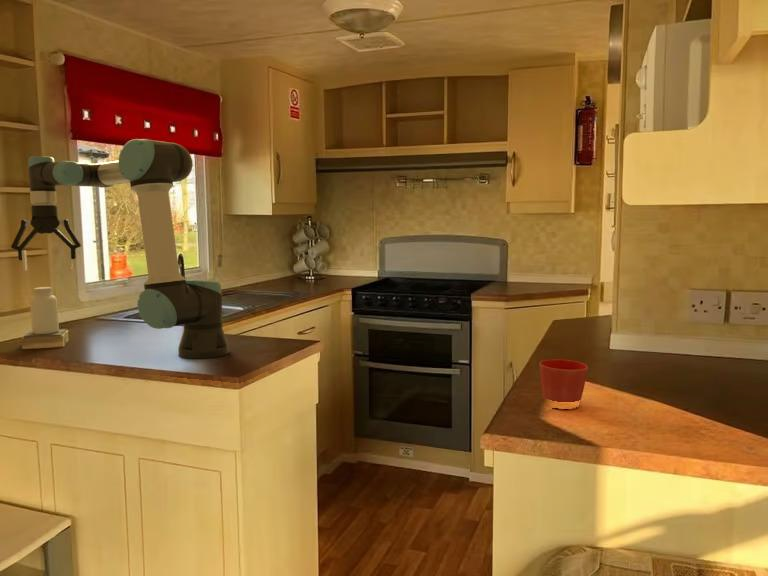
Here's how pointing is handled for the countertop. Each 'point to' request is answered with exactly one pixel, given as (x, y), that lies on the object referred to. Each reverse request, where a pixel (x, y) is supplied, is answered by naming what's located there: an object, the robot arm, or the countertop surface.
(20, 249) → the robot arm
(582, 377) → the flower pot
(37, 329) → the pill bottle
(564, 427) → the countertop surface
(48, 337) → the stand
